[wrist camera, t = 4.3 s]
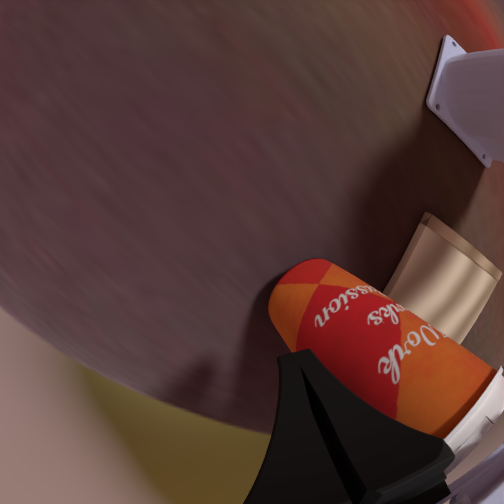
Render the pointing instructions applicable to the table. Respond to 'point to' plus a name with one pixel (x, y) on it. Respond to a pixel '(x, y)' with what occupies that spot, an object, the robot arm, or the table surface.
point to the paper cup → (388, 355)
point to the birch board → (443, 279)
